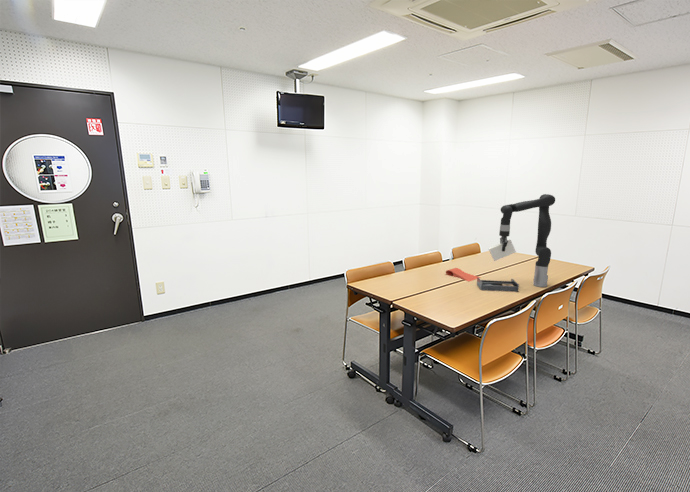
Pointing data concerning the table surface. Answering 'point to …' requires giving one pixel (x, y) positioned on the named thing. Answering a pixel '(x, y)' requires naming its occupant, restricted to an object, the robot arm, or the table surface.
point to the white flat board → (498, 252)
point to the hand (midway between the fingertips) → (502, 250)
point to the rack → (497, 285)
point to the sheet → (461, 274)
